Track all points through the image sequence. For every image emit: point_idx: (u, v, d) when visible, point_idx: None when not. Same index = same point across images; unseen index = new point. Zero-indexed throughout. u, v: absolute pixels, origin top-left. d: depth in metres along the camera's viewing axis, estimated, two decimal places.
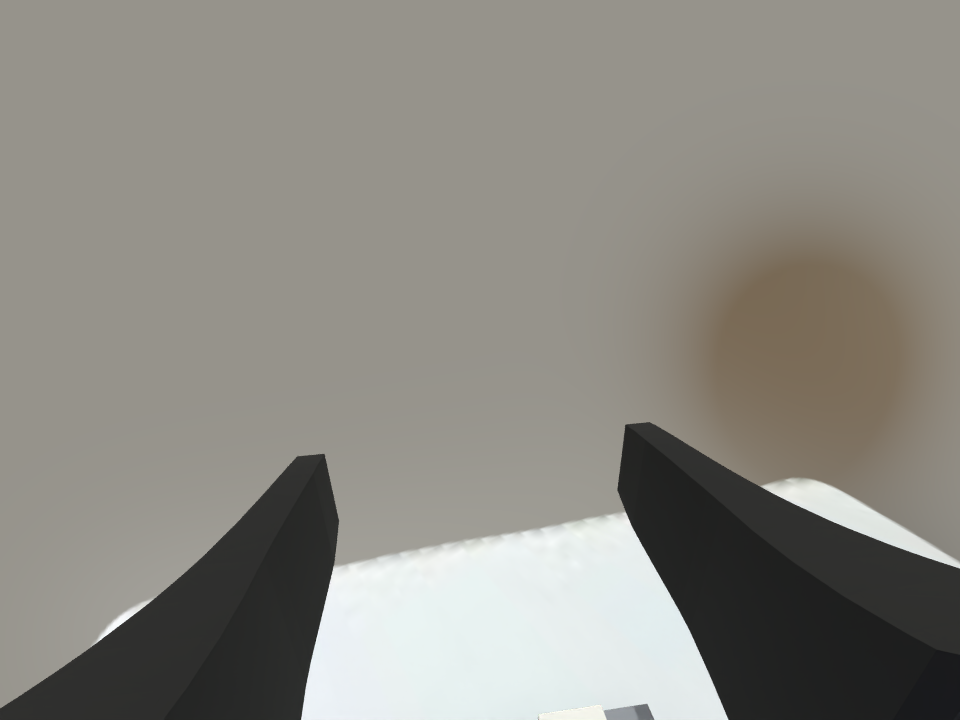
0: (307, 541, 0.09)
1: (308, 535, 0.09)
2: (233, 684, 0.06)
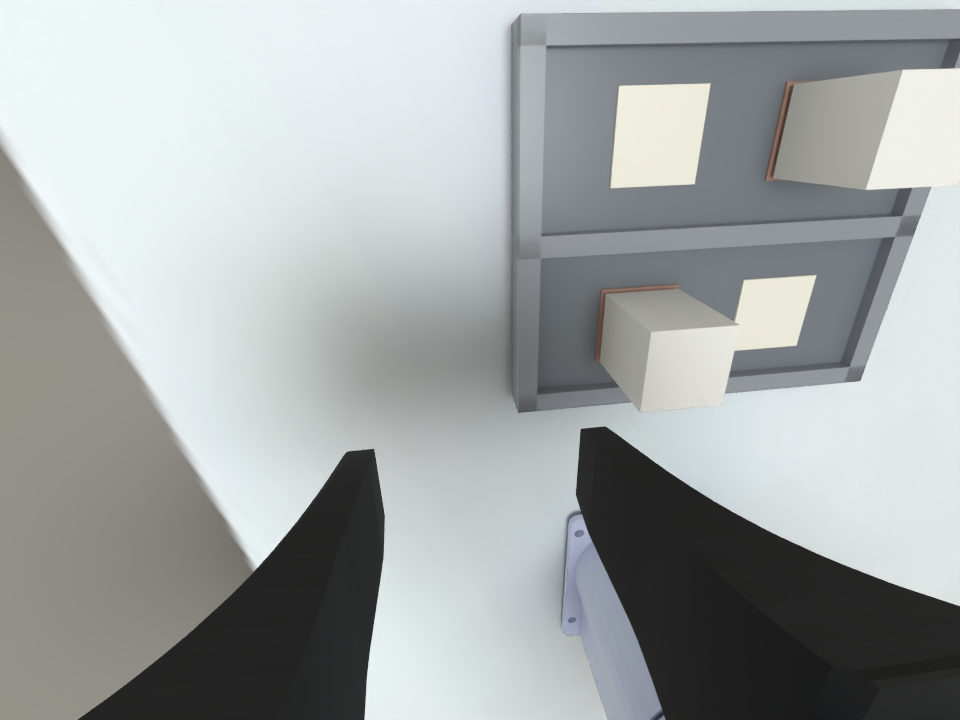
0: (364, 534, 0.09)
1: (366, 529, 0.09)
2: (323, 671, 0.06)
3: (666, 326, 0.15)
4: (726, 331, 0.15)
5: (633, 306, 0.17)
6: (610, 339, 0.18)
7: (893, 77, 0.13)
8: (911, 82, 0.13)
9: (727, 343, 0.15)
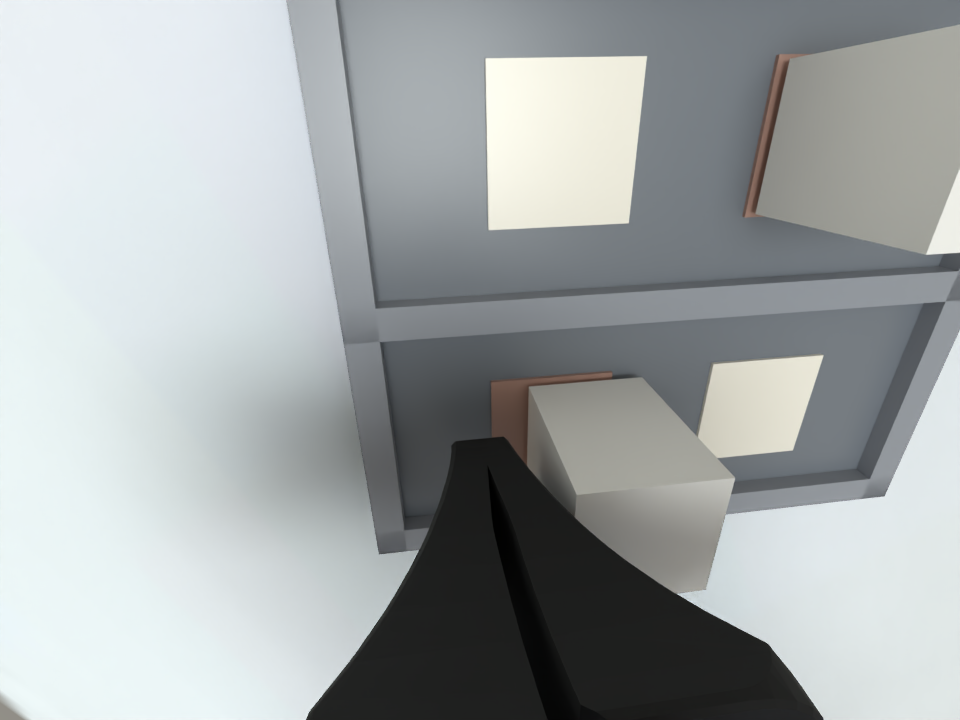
0: None
1: None
2: None
3: (606, 479, 0.09)
4: (711, 488, 0.09)
5: (563, 418, 0.11)
6: (535, 458, 0.12)
7: None
8: None
9: (713, 505, 0.09)
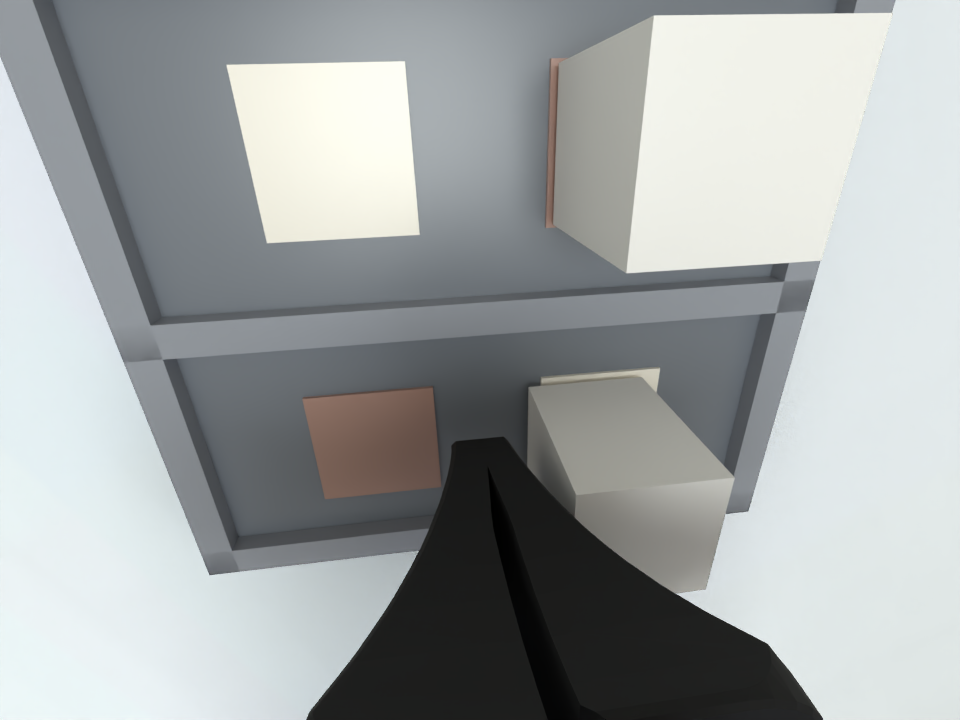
0: None
1: None
2: None
3: (606, 479, 0.09)
4: (711, 487, 0.09)
5: (562, 419, 0.11)
6: (535, 458, 0.12)
7: (644, 35, 0.06)
8: (680, 46, 0.06)
9: (712, 505, 0.09)
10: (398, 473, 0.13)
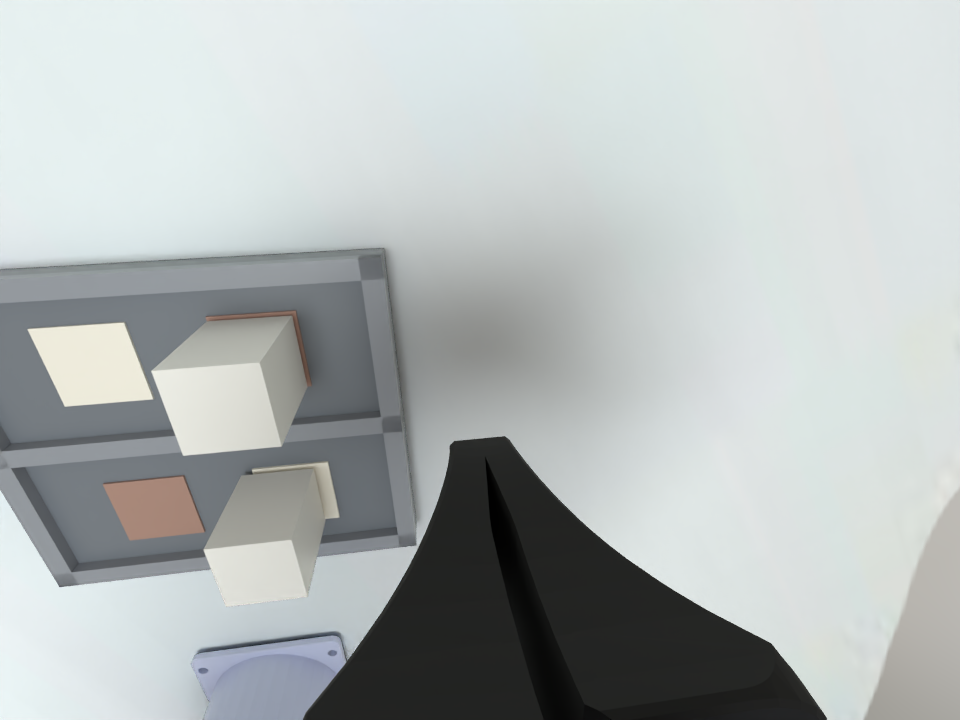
0: None
1: None
2: None
3: (226, 540, 0.17)
4: (279, 544, 0.17)
5: (239, 500, 0.19)
6: None
7: (156, 372, 0.14)
8: (168, 379, 0.14)
9: (286, 553, 0.17)
10: (173, 525, 0.21)
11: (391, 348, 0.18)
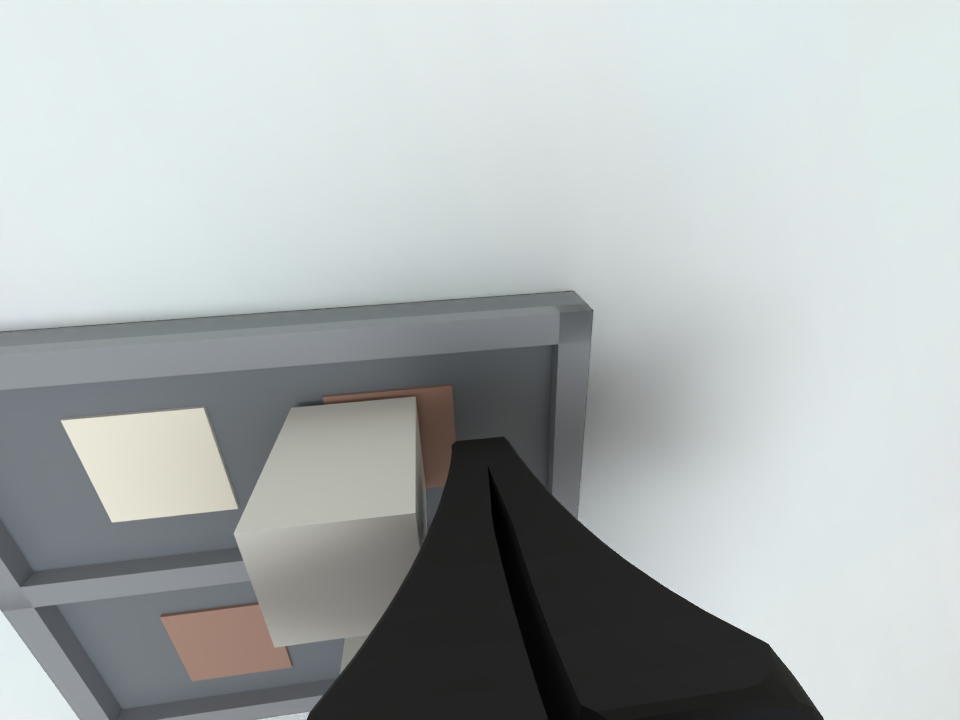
0: None
1: None
2: None
3: None
4: None
5: None
6: None
7: (240, 530, 0.08)
8: (261, 544, 0.08)
9: None
10: (252, 660, 0.15)
11: (582, 435, 0.13)
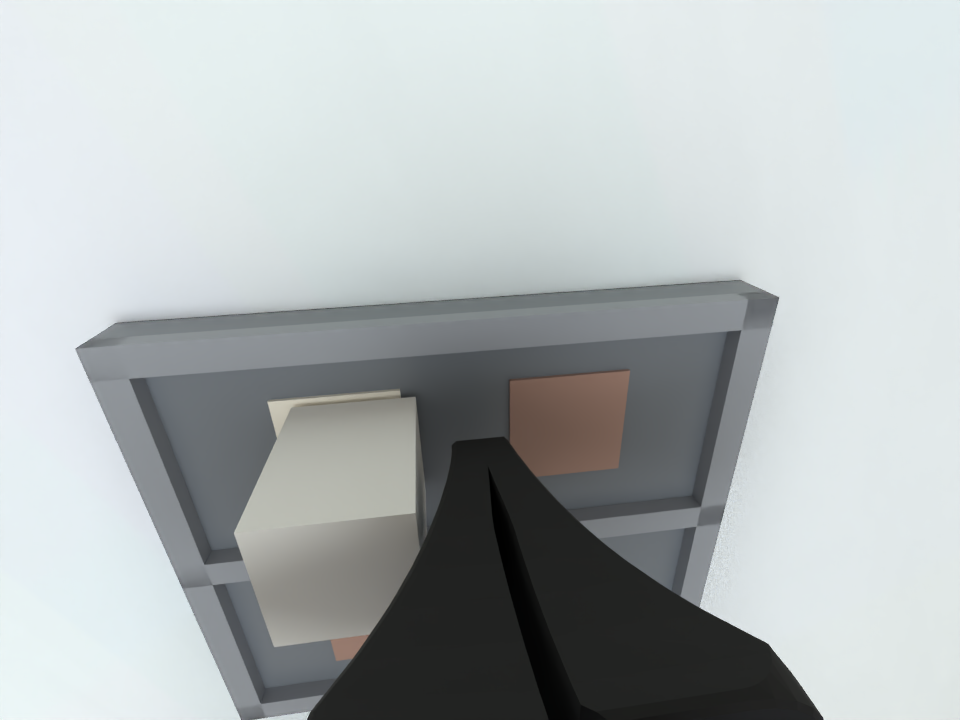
0: None
1: None
2: None
3: None
4: None
5: None
6: None
7: (240, 530, 0.08)
8: (261, 543, 0.08)
9: None
10: None
11: (745, 419, 0.13)
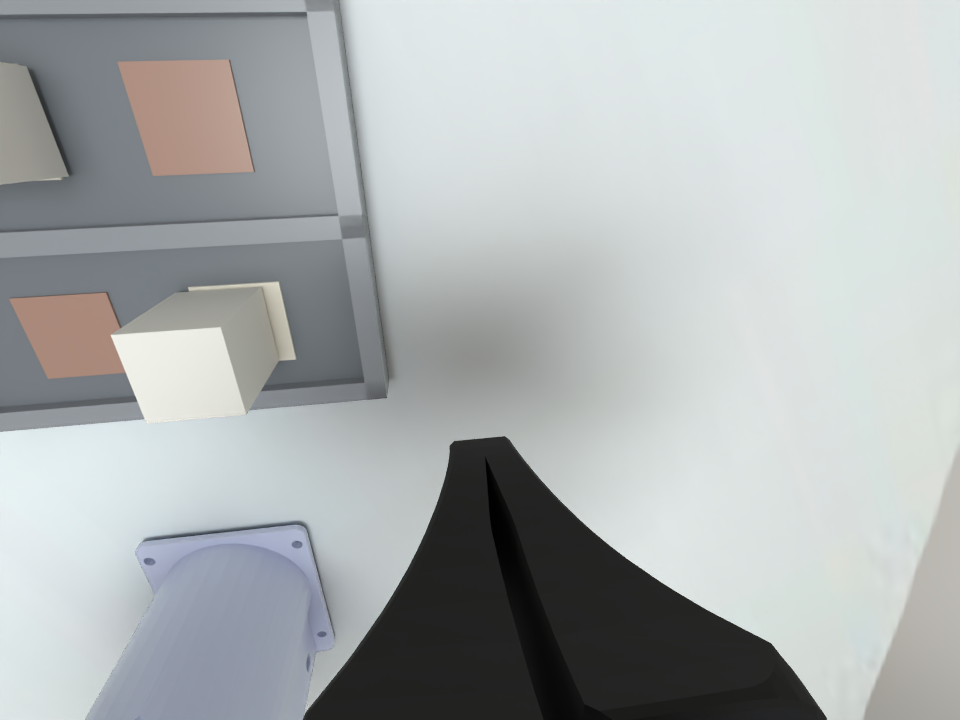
0: None
1: None
2: None
3: (141, 328, 0.14)
4: (206, 334, 0.14)
5: (167, 306, 0.16)
6: None
7: None
8: None
9: (215, 347, 0.14)
10: (99, 360, 0.18)
11: (347, 116, 0.15)
